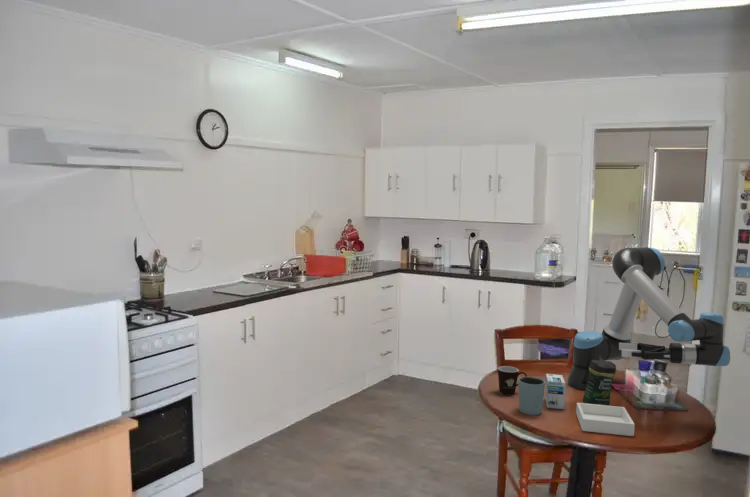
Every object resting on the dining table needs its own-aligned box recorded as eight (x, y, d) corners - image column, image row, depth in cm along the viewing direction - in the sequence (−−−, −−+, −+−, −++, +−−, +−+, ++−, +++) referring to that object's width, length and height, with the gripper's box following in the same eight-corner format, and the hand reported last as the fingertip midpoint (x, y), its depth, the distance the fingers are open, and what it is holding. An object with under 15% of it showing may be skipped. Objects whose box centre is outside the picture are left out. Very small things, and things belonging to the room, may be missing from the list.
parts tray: (576, 413, 221) (576, 402, 221) (623, 418, 218) (624, 407, 217) (582, 430, 205) (583, 419, 204) (633, 436, 201) (634, 424, 201)
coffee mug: (494, 394, 241) (496, 370, 240) (498, 387, 249) (499, 365, 248) (523, 398, 237) (524, 374, 236) (526, 392, 245) (527, 368, 244)
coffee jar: (589, 409, 224) (597, 363, 221) (579, 401, 232) (587, 356, 229) (612, 411, 225) (620, 365, 223) (601, 402, 233) (609, 358, 231)
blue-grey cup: (527, 416, 216) (529, 385, 215) (511, 407, 226) (512, 377, 225) (549, 413, 221) (551, 382, 219) (532, 404, 230) (533, 375, 229)
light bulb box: (564, 409, 225) (566, 382, 224) (546, 408, 226) (548, 381, 225) (561, 400, 236) (562, 374, 235) (544, 398, 237) (545, 373, 236)
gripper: (687, 371, 206) (622, 366, 213) (676, 356, 229) (618, 352, 236) (687, 349, 206) (623, 345, 213) (676, 337, 229) (618, 334, 236)
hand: (620, 349), depth 225 cm, fingers open, 13 cm apart
